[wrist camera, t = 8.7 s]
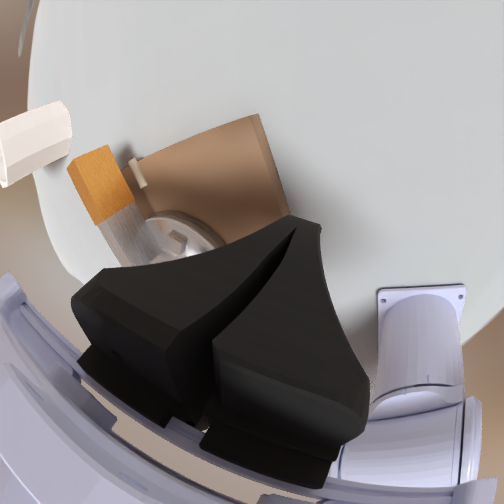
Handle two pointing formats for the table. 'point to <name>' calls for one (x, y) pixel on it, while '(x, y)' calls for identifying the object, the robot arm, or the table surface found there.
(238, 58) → the table surface
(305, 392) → the robot arm
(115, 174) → the silver orange handled piece
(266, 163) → the base plate
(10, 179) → the mug
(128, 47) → the table surface
